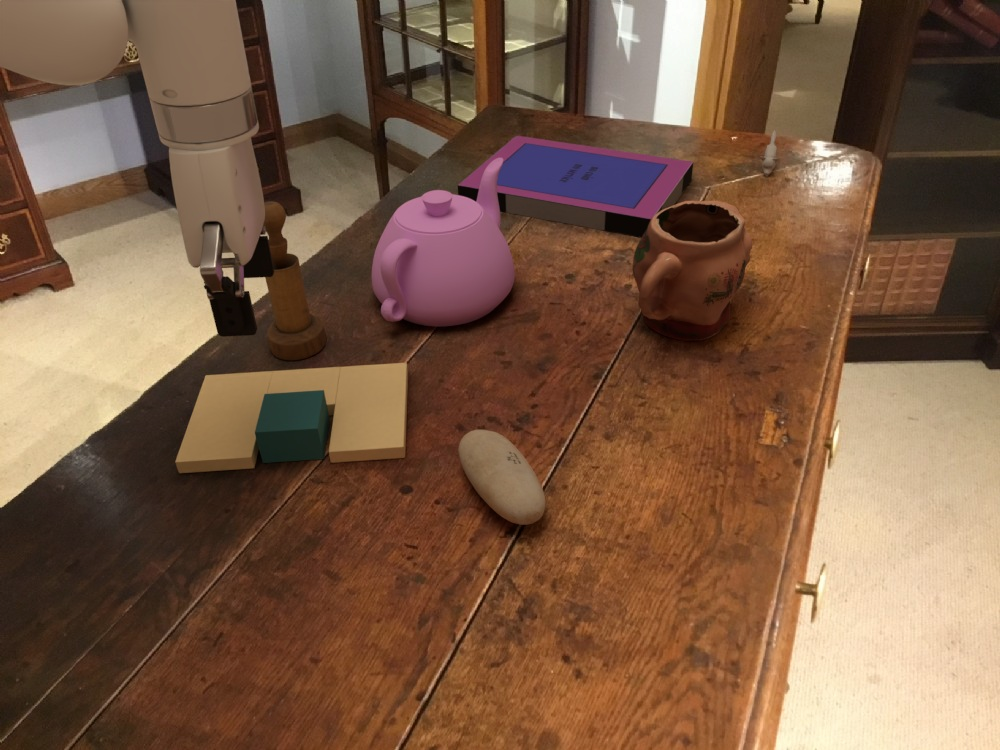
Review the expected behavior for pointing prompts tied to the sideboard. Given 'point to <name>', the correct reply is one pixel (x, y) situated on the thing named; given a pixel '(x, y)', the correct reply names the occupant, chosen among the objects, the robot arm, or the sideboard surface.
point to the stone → (502, 476)
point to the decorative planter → (691, 268)
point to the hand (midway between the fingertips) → (248, 303)
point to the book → (583, 184)
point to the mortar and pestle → (289, 297)
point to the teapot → (444, 257)
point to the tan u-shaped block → (348, 391)
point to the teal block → (293, 426)
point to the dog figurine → (770, 156)
